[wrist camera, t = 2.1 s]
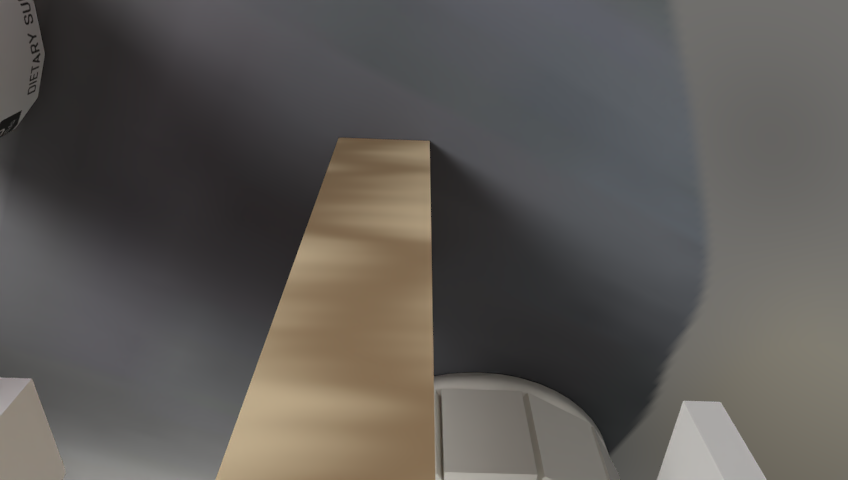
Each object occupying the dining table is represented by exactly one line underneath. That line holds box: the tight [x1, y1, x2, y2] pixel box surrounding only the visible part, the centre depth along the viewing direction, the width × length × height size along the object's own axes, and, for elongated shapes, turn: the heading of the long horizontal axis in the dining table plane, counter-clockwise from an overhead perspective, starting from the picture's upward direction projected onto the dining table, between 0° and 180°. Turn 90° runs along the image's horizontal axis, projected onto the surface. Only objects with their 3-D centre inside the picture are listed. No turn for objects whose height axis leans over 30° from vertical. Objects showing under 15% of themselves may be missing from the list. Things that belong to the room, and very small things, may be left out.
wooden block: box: [216, 138, 435, 480], centre depth 15 cm, size 3×5×14 cm, turn 178°
